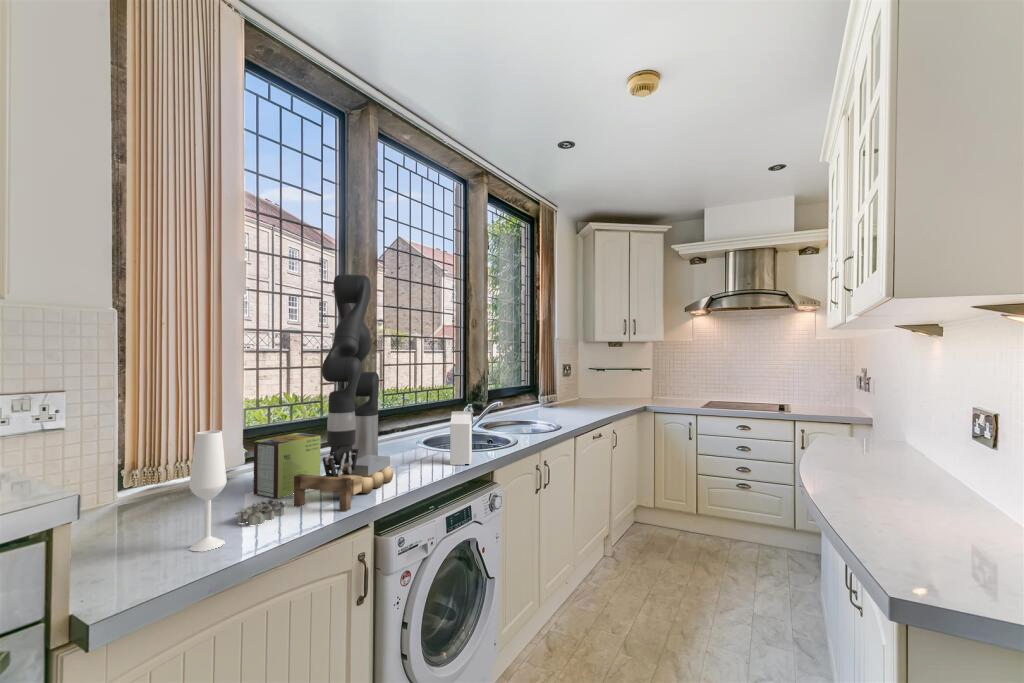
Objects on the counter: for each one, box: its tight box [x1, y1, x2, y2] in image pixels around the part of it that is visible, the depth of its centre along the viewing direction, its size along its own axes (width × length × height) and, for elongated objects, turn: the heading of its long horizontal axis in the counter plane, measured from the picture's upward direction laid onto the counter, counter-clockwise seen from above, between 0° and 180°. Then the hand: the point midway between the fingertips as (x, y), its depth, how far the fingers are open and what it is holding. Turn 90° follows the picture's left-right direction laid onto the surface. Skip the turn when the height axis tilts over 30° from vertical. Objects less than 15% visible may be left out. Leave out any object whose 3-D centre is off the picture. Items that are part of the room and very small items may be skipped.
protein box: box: [252, 432, 321, 500], centre depth 143 cm, size 10×15×16 cm
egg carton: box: [234, 497, 288, 525], centre depth 118 cm, size 11×8×4 cm
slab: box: [345, 455, 391, 476], centre depth 148 cm, size 8×13×3 cm, turn 166°
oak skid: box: [319, 473, 362, 496], centre depth 135 cm, size 11×4×4 cm, turn 76°
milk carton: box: [449, 410, 473, 466], centre depth 177 cm, size 7×7×19 cm
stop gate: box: [293, 474, 352, 512], centre depth 127 cm, size 16×2×8 cm, turn 76°
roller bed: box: [356, 467, 394, 494], centre depth 146 cm, size 11×16×4 cm, turn 166°
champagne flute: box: [188, 429, 227, 552], centre depth 102 cm, size 7×7×24 cm
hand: (341, 489), depth 135 cm, fingers closed on oak skid, 4 cm apart
